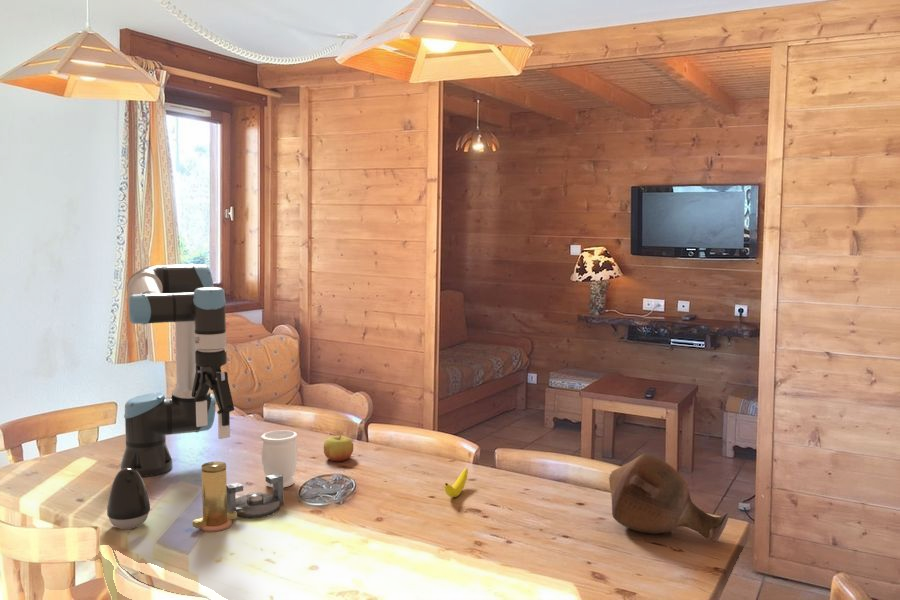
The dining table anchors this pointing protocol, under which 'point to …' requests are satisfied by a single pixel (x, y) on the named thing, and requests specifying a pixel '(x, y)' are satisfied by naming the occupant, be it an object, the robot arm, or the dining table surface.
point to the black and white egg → (128, 500)
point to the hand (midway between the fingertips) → (212, 431)
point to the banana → (457, 485)
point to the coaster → (217, 527)
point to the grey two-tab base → (256, 499)
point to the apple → (338, 448)
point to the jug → (658, 500)
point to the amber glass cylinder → (214, 496)
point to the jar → (280, 455)
